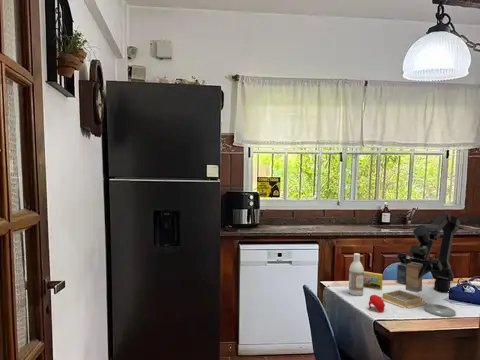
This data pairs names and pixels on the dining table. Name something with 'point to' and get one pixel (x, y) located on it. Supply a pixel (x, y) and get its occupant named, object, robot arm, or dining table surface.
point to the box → (401, 274)
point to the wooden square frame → (409, 304)
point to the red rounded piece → (376, 303)
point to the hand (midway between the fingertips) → (412, 276)
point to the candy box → (373, 280)
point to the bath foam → (356, 276)
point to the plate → (439, 310)
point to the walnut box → (413, 277)
